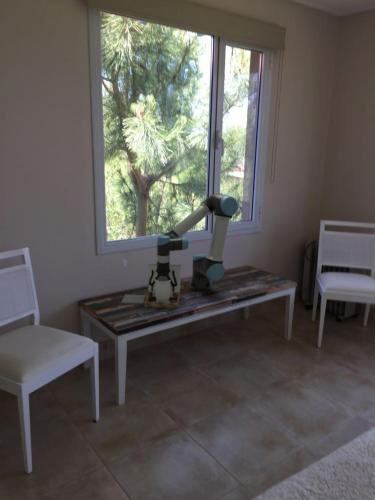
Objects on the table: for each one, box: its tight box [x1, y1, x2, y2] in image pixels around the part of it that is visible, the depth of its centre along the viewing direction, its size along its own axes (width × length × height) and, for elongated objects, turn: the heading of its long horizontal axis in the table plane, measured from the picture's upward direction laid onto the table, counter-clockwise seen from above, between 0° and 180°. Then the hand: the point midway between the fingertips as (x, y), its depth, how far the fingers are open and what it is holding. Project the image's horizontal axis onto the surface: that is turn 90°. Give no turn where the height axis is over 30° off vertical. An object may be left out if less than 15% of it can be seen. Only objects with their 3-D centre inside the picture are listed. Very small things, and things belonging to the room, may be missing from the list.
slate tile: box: [120, 294, 147, 306], centre depth 257 cm, size 13×13×1 cm
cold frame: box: [144, 291, 181, 309], centre depth 255 cm, size 20×17×3 cm
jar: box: [154, 276, 171, 302], centre depth 253 cm, size 11×10×15 cm
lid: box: [148, 263, 182, 293], centre depth 263 cm, size 20×17×1 cm
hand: (162, 296), depth 254 cm, fingers closed on jar, 10 cm apart
